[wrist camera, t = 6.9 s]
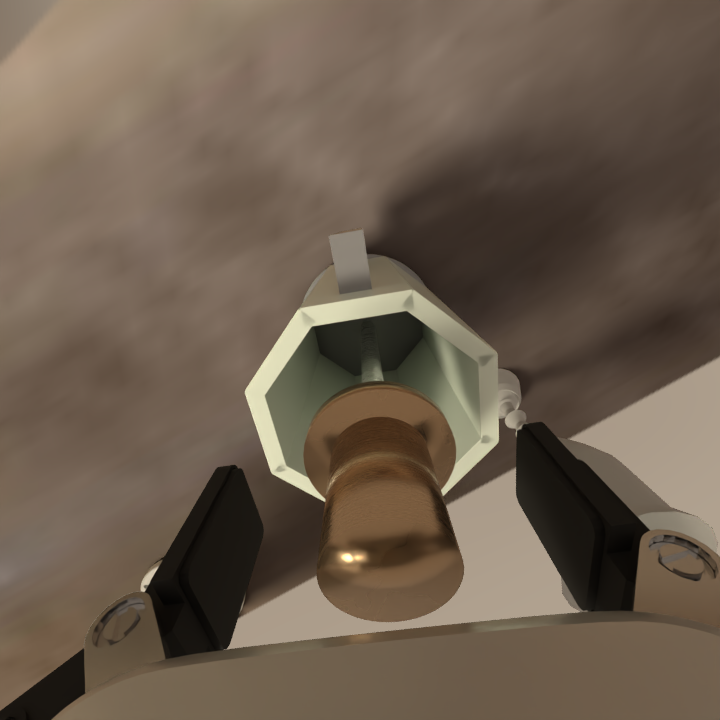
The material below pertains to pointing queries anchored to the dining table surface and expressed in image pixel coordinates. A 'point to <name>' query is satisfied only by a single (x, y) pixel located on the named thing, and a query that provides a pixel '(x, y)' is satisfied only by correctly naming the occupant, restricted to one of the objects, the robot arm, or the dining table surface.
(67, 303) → the dining table surface
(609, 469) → the chalice
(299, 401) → the press carafe
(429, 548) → the plunger
